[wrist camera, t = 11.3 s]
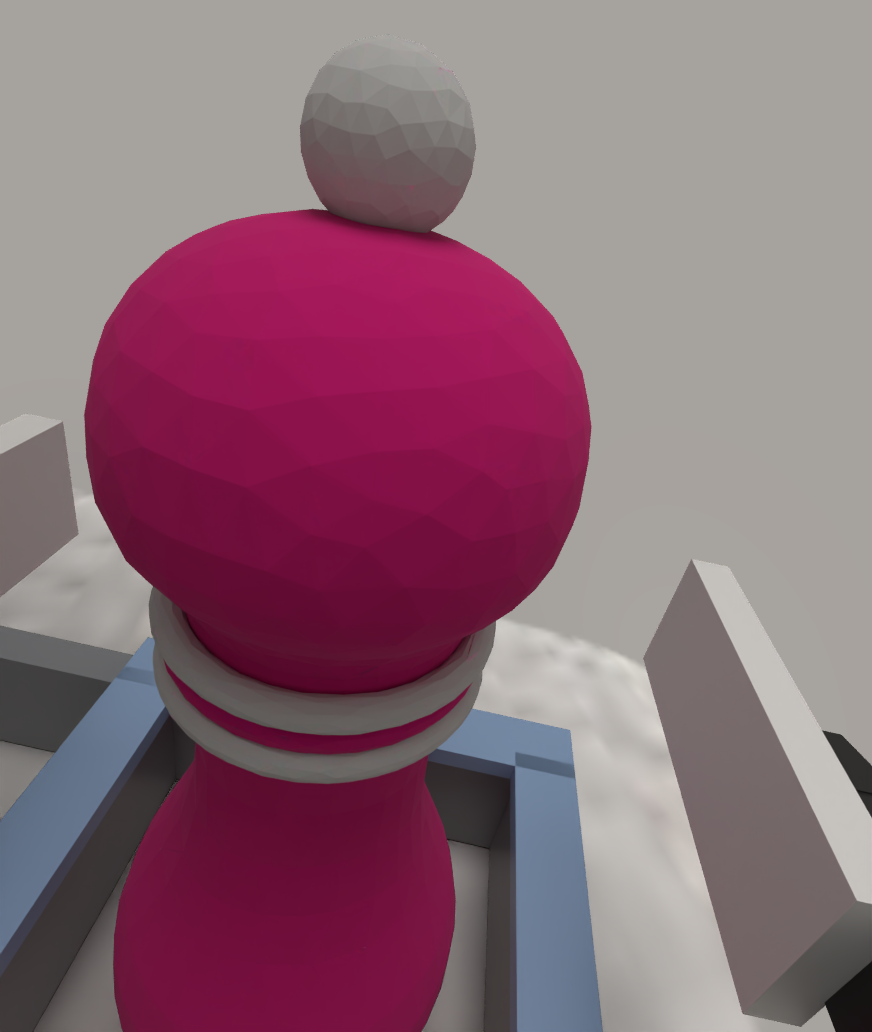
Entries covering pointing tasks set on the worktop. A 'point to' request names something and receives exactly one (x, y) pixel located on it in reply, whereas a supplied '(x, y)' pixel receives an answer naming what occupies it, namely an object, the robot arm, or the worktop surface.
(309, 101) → the pepper mill
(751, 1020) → the worktop surface
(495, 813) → the divider rack
